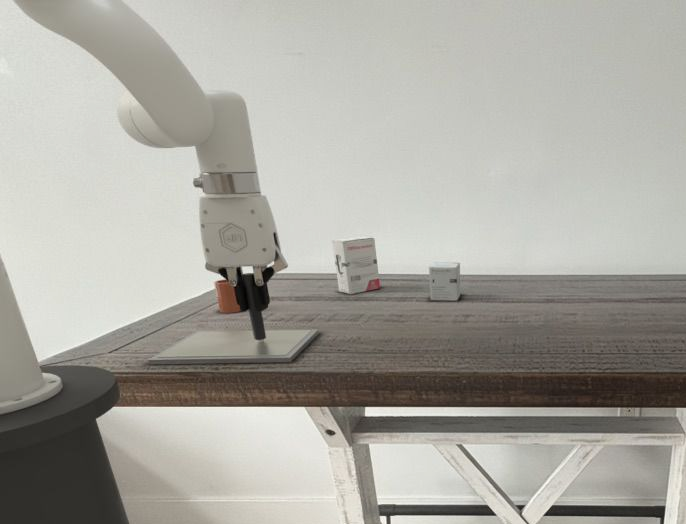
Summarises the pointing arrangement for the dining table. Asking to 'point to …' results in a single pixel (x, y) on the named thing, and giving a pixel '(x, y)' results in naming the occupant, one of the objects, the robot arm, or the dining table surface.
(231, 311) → the pen cup
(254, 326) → the stylus
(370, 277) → the ink box
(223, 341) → the tablet
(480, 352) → the dining table surface
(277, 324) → the dining table surface
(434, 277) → the product carton
